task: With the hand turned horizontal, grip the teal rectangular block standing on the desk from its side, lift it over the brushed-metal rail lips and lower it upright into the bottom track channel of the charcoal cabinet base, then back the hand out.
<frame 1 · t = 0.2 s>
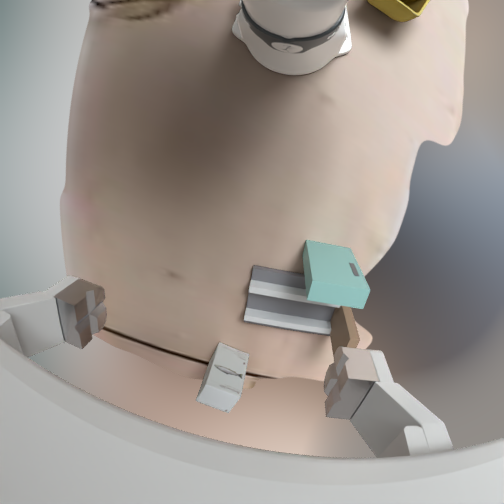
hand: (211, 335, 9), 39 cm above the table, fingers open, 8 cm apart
supplement box: (229, 356, 61), on the table
flower pot: (386, 4, 29), on the table
track base: (296, 301, 53), on the table
teal rectangular block: (326, 252, 48), on the table
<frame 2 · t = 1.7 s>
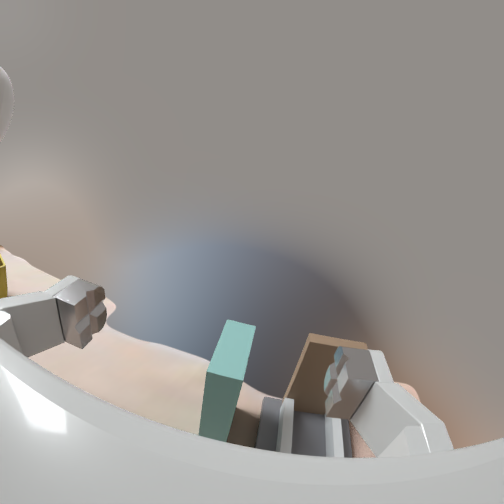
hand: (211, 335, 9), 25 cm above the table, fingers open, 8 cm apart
track base: (303, 461, 26), on the table
teal rectangular block: (217, 426, 30), on the table
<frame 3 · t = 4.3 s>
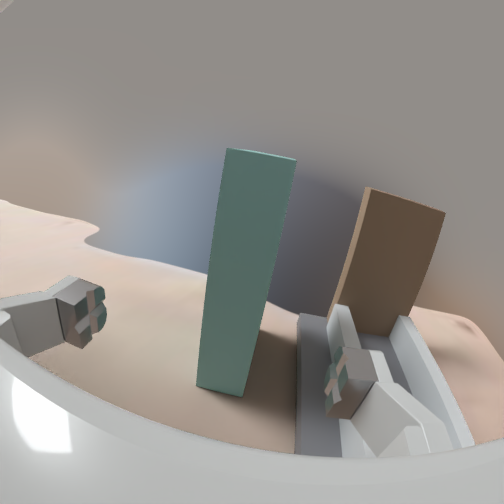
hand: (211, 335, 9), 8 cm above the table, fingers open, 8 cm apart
track base: (376, 403, 17), on the table
teal rectangular block: (230, 353, 20), on the table
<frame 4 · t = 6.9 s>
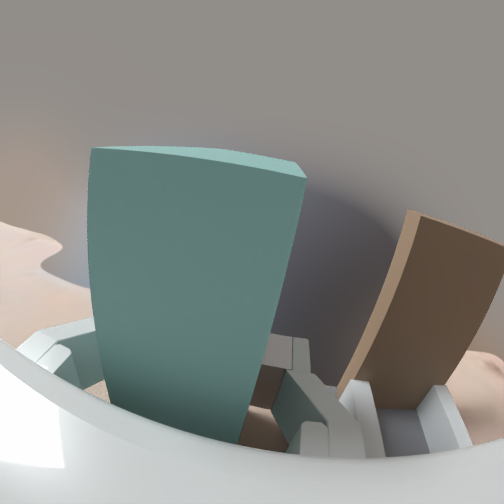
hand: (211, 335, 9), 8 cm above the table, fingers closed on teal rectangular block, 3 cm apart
teal rectangular block: (198, 452, 12), on the table, touching gripper
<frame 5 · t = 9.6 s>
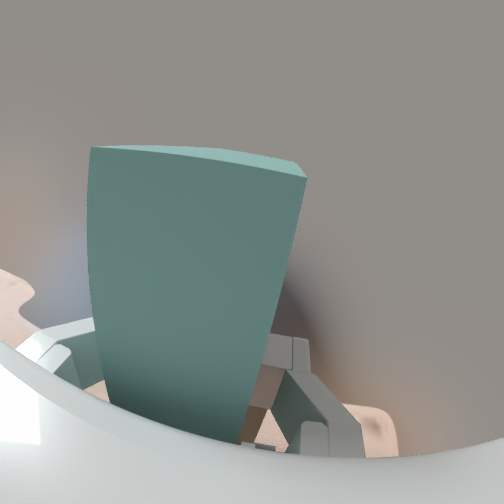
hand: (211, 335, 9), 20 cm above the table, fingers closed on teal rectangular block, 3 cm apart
teal rectangular block: (198, 451, 12), point 12 cm above the table, touching gripper
when the fingers open (11 cm above the table, at t = 12.6 s): teal rectangular block stays where it is, resting on track base.
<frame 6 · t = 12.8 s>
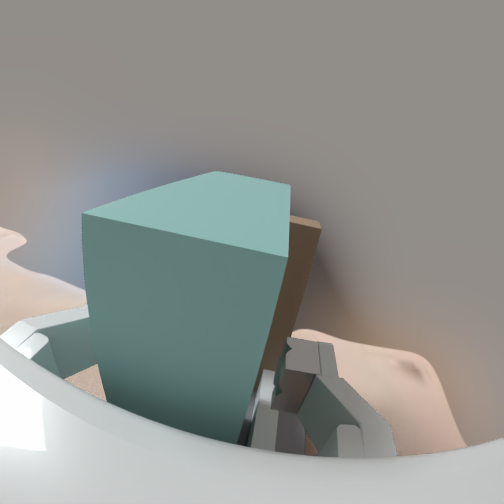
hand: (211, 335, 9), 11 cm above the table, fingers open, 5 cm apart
track base: (192, 479, 12), on the table
teal rectangular block: (197, 459, 12), point 1 cm above the table, touching track base
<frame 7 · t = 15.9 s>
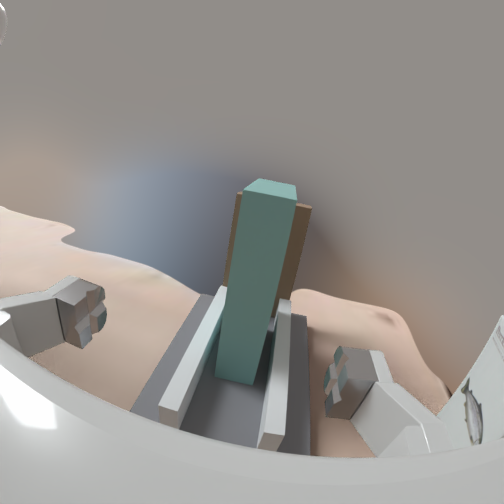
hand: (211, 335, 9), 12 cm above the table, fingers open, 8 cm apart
supplement box: (445, 478, 12), on the table
track base: (238, 366, 23), on the table
teal rectangular block: (241, 350, 24), point 1 cm above the table, touching track base
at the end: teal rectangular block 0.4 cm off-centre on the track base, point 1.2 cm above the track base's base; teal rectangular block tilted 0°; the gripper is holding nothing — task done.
